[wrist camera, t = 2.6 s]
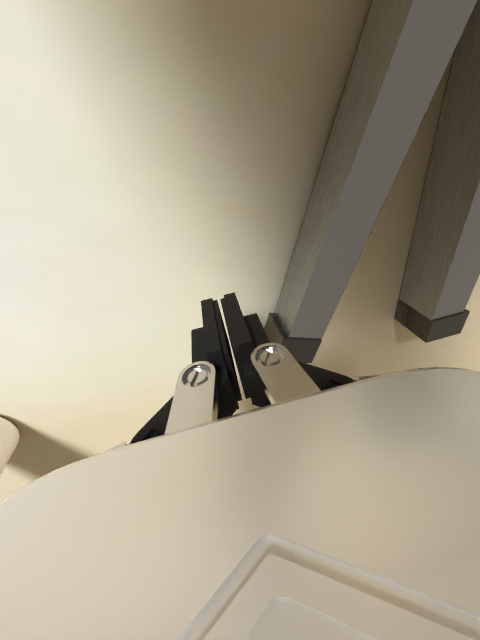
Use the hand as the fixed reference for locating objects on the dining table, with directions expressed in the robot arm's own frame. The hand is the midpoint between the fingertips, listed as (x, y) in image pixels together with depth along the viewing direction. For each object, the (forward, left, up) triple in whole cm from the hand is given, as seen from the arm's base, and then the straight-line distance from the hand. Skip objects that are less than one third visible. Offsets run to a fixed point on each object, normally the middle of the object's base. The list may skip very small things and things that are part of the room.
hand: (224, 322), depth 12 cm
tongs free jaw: (-4, +8, -5) cm, 10 cm away
